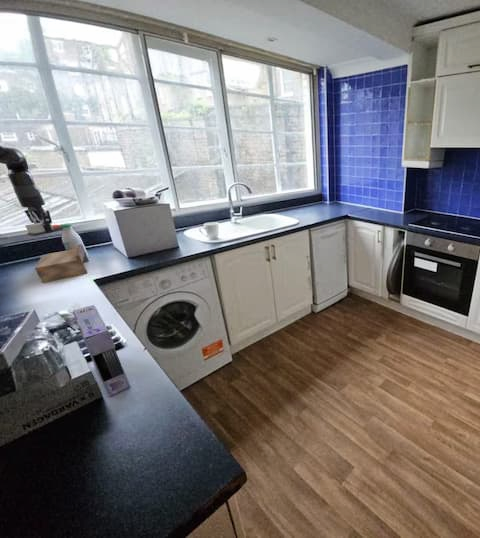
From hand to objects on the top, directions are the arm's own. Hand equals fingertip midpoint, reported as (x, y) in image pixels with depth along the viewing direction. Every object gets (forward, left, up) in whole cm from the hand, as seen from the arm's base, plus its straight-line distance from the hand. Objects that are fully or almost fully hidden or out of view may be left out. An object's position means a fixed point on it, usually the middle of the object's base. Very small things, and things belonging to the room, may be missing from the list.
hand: (46, 231), depth 138 cm
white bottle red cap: (0, 0, 0) cm, 0 cm away
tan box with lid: (+1, +2, -21) cm, 21 cm away
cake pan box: (+17, -109, -21) cm, 112 cm away
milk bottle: (+5, +21, -21) cm, 31 cm away
